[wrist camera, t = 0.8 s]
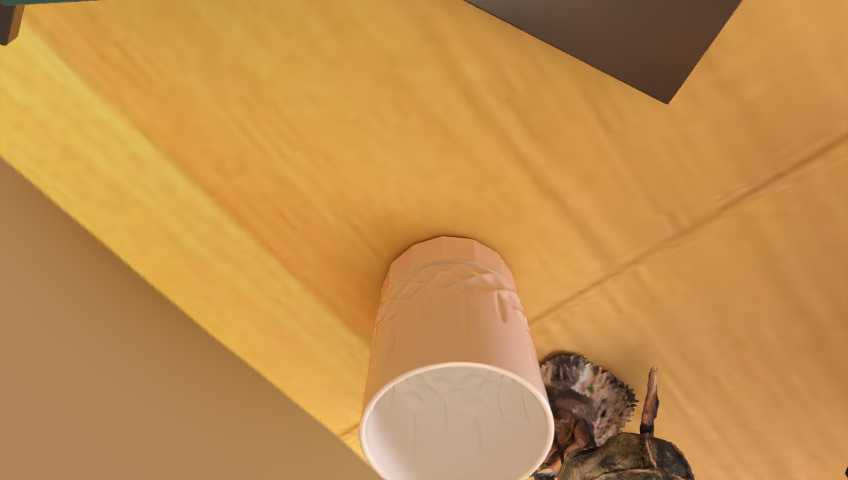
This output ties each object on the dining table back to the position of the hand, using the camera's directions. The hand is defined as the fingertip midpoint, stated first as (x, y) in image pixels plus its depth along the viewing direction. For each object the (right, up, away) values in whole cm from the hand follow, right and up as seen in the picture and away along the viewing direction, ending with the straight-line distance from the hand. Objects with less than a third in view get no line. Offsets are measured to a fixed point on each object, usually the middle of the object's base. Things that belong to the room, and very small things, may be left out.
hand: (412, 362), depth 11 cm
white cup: (+1, -1, +30) cm, 30 cm away
